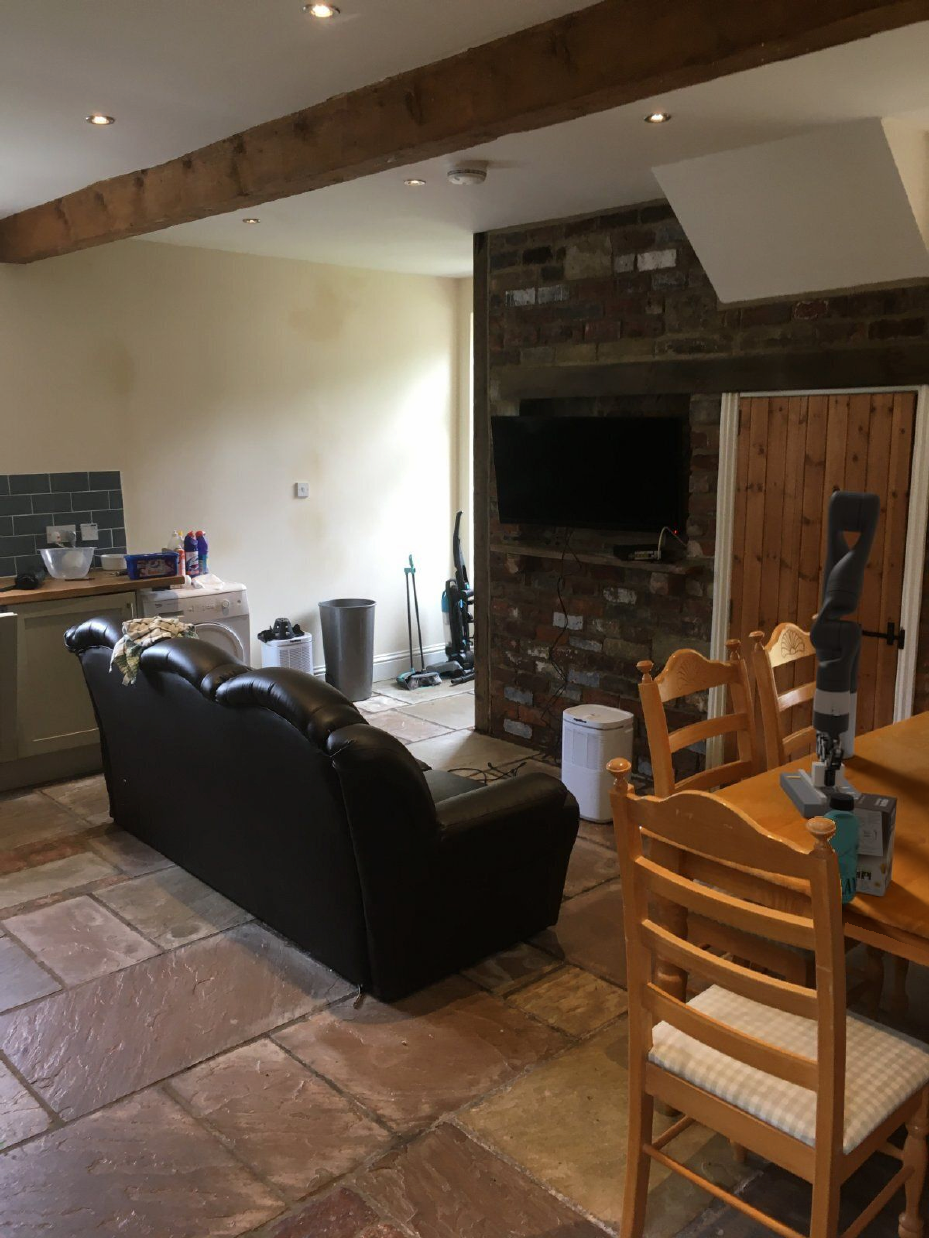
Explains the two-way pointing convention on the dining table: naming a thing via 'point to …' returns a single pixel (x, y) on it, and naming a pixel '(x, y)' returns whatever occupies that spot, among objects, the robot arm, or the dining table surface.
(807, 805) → the console
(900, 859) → the dining table surface
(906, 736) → the dining table surface
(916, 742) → the dining table surface
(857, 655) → the robot arm
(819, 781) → the fader
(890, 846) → the coffee box
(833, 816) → the beverage bottle
